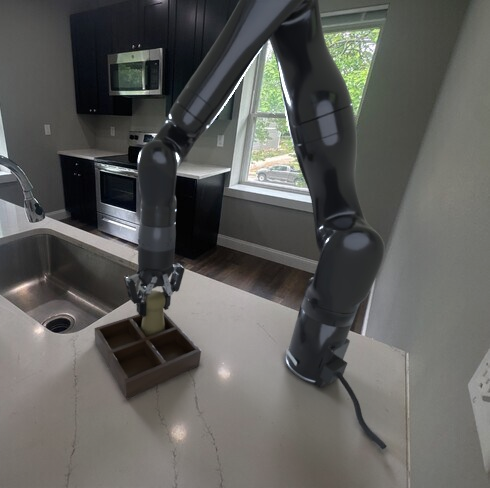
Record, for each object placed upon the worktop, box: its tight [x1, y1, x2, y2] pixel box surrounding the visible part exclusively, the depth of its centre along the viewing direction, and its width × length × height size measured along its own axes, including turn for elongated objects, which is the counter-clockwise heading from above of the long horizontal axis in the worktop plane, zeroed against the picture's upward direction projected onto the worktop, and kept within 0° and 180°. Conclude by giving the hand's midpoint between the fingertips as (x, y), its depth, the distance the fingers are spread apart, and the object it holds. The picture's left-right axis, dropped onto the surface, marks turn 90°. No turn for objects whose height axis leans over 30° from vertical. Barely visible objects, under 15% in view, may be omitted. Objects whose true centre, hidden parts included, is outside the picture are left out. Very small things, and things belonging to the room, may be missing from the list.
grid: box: [94, 310, 202, 400], centre depth 64 cm, size 17×17×4 cm
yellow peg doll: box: [141, 289, 166, 337], centre depth 67 cm, size 6×6×11 cm
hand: (153, 311), depth 67 cm, fingers closed on yellow peg doll, 5 cm apart
